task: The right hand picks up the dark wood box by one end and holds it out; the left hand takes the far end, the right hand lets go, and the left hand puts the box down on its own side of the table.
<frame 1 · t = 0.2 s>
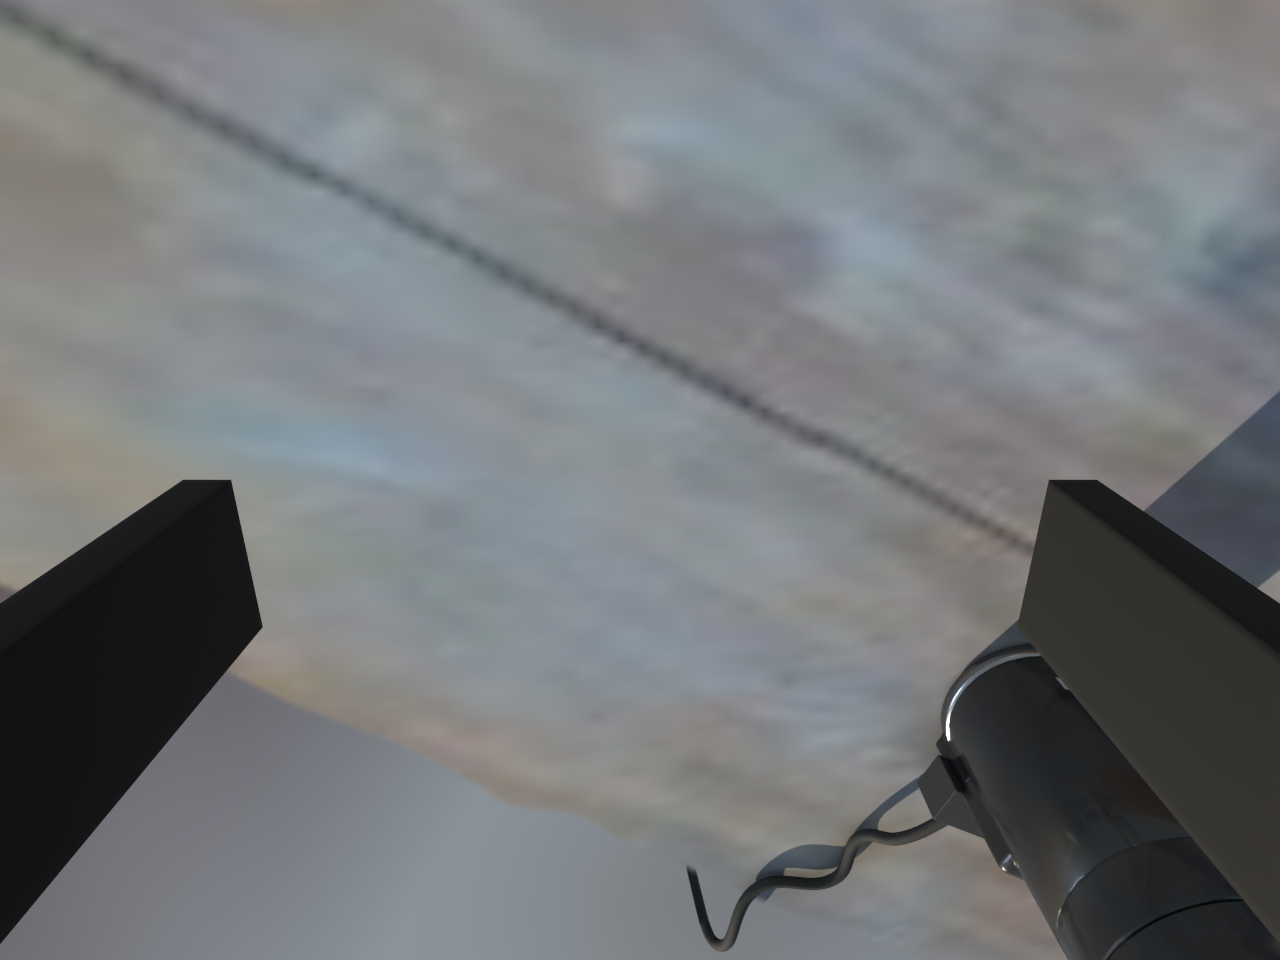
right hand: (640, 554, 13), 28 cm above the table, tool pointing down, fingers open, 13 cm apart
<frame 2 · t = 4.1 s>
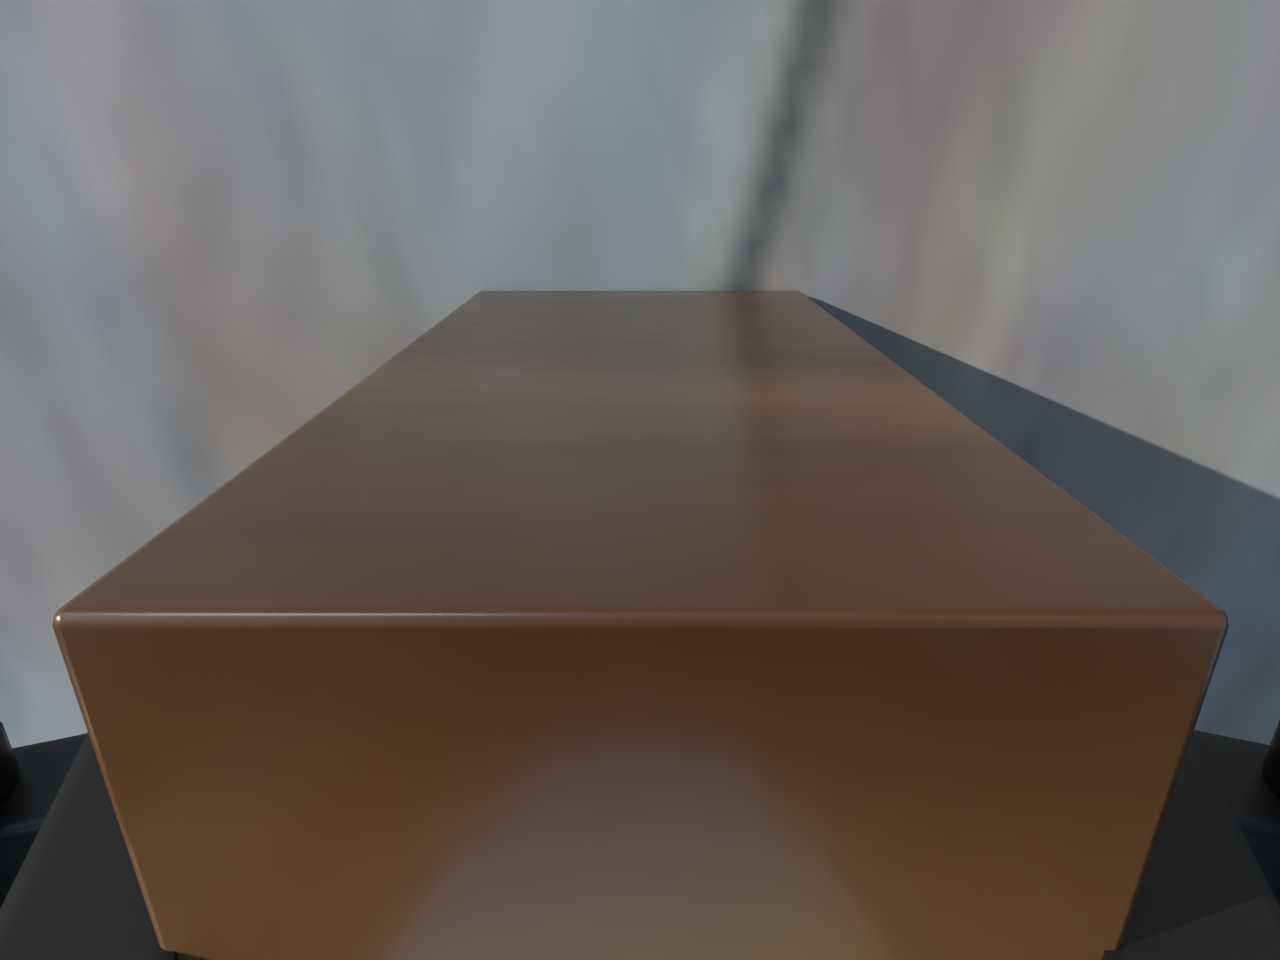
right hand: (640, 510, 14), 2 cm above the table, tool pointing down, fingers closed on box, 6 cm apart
box: (640, 828, 20), on the table, touching right hand
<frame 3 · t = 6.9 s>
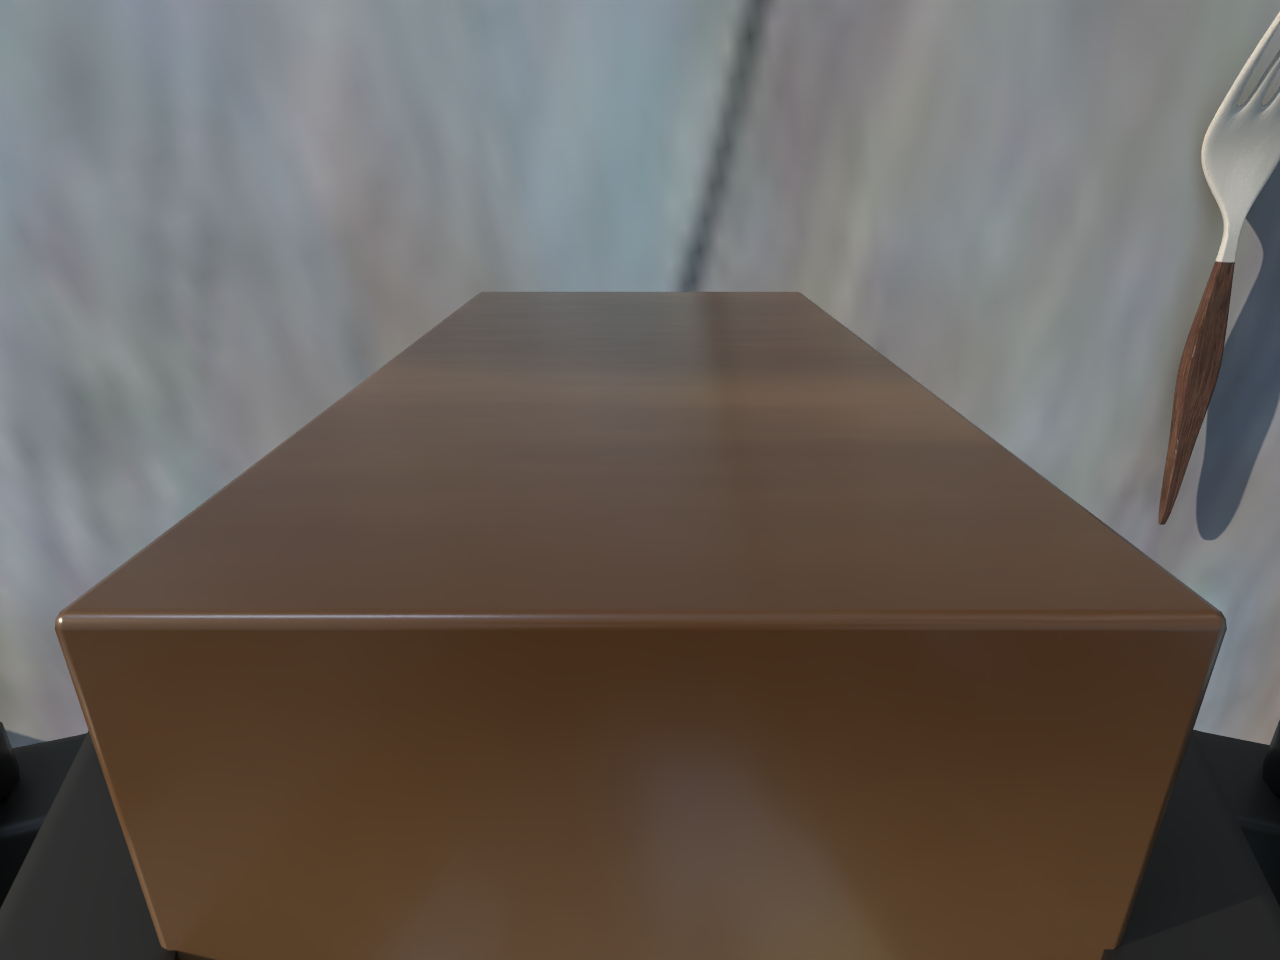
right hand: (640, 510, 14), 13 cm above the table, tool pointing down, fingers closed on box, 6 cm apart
box: (640, 828, 20), point 10 cm above the table, touching right hand
fork: (1201, 295, 25), on the table
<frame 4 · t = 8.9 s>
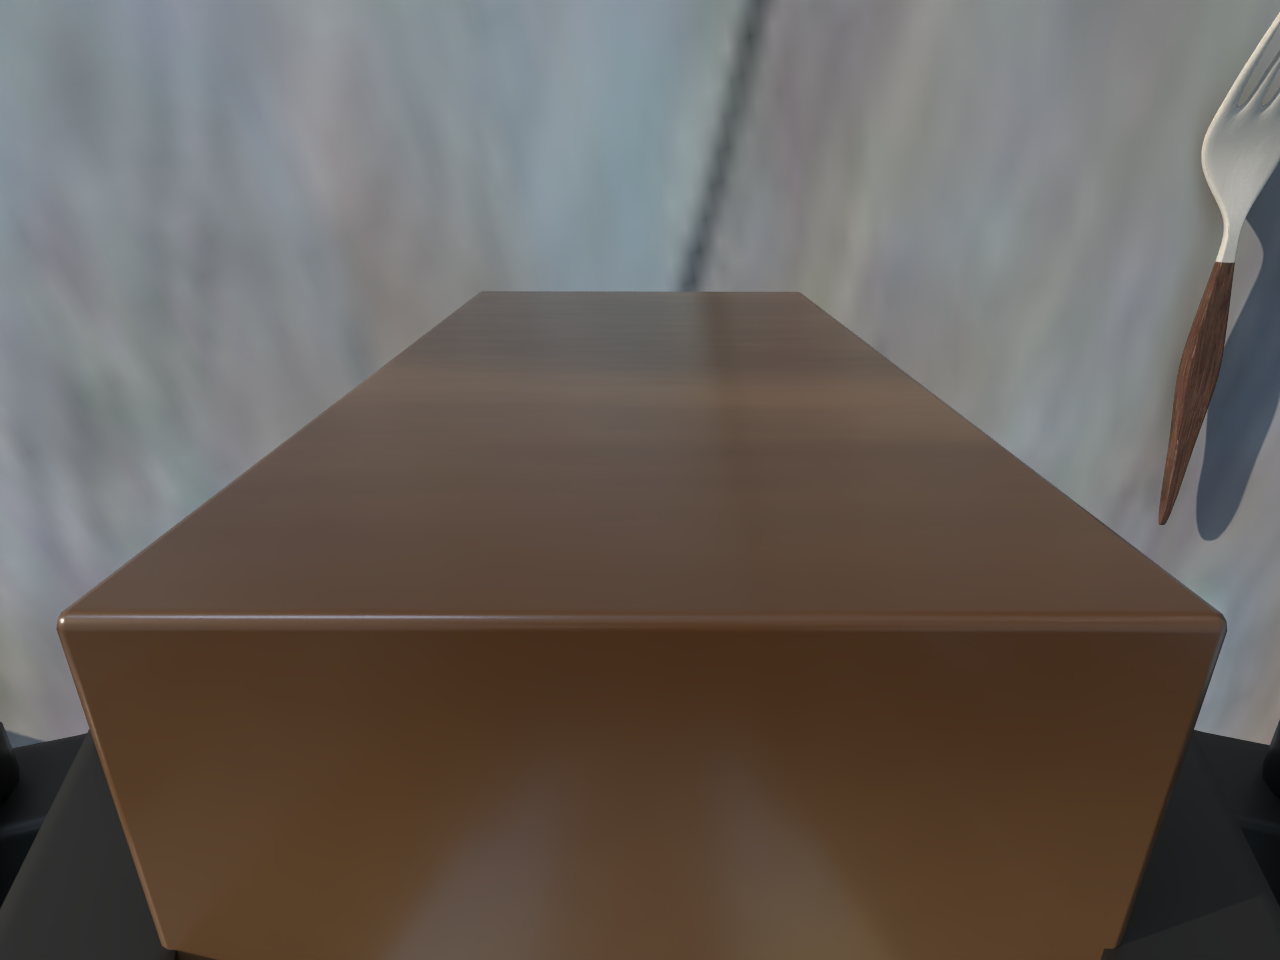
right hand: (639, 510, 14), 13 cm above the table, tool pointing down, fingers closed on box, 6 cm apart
box: (639, 828, 20), point 10 cm above the table, touching right hand, left hand
fork: (1201, 295, 25), on the table
when the right hand's fingers open (13 cm above the table, at t = 10.0 s): box stays where it is, held by the left hand.
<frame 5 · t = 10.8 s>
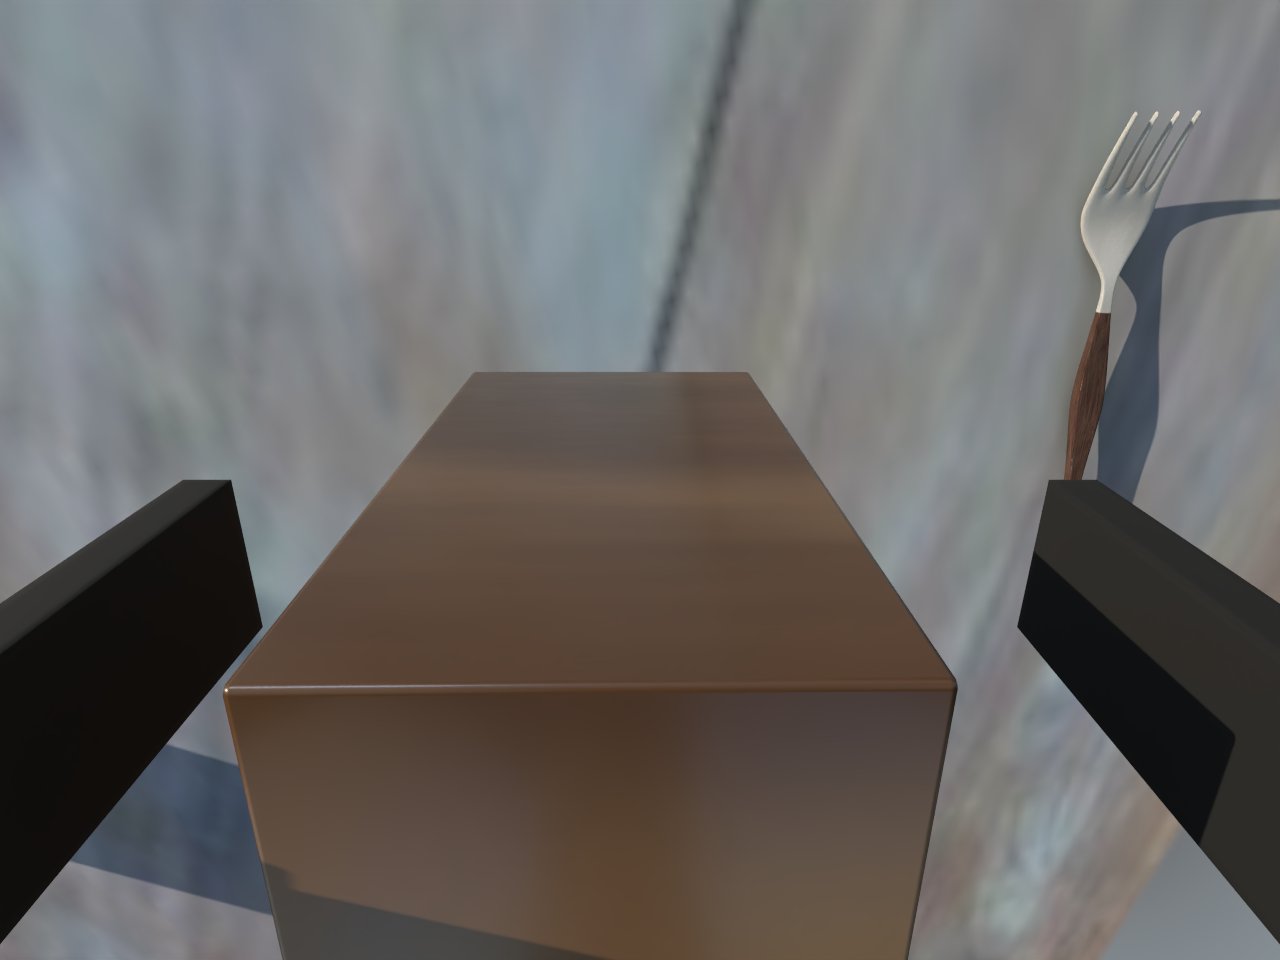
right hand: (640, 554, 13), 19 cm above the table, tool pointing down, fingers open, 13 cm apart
box: (615, 837, 22), point 13 cm above the table, touching left hand
fork: (1087, 338, 30), on the table
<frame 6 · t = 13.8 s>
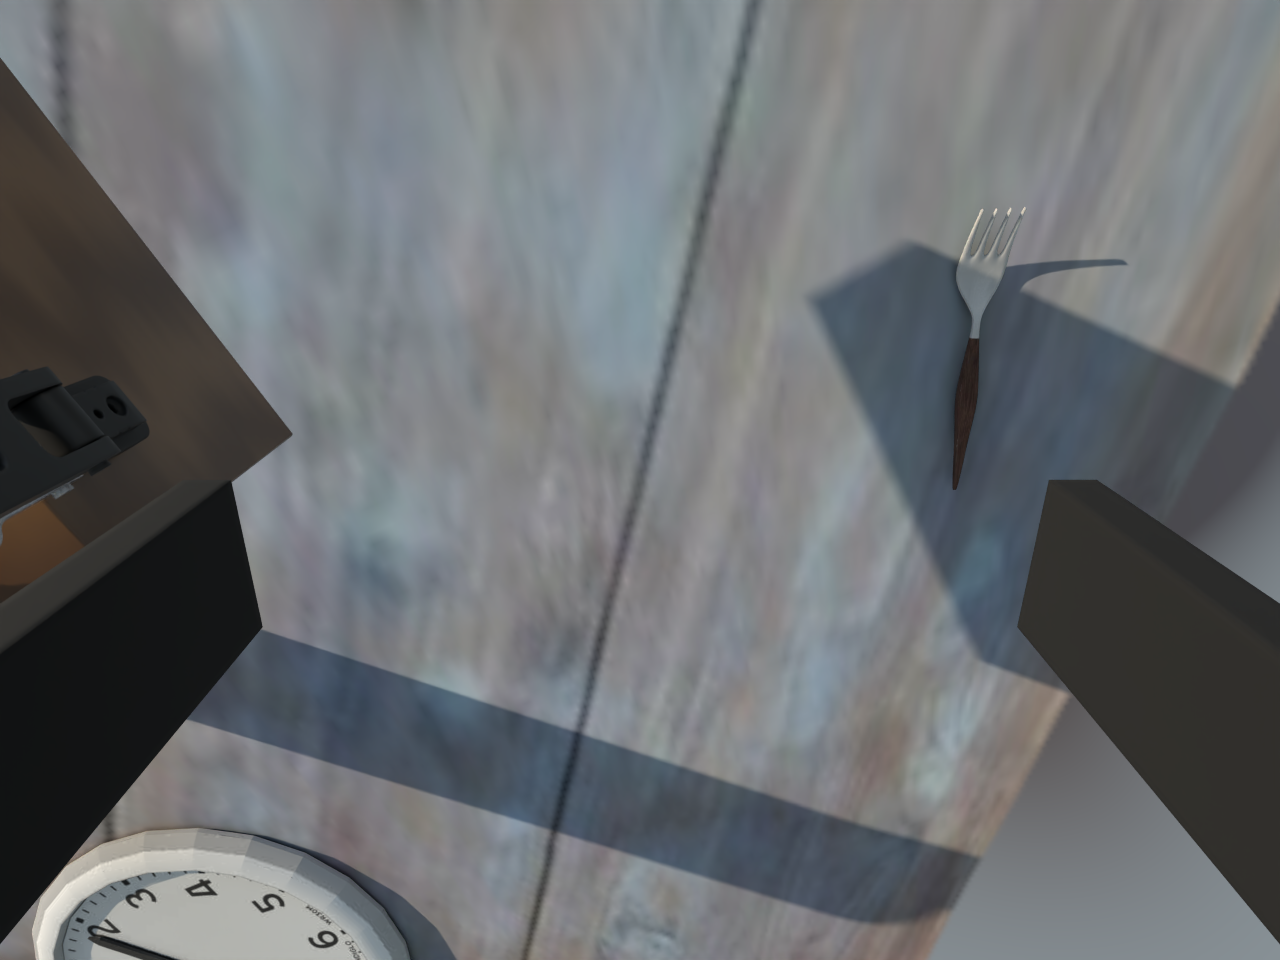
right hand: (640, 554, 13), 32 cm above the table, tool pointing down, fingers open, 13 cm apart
fork: (966, 355, 43), on the table
when the left hand's fingers open (9 cm above the table, at t = 18.8 s): box drops 2 cm, on the table.
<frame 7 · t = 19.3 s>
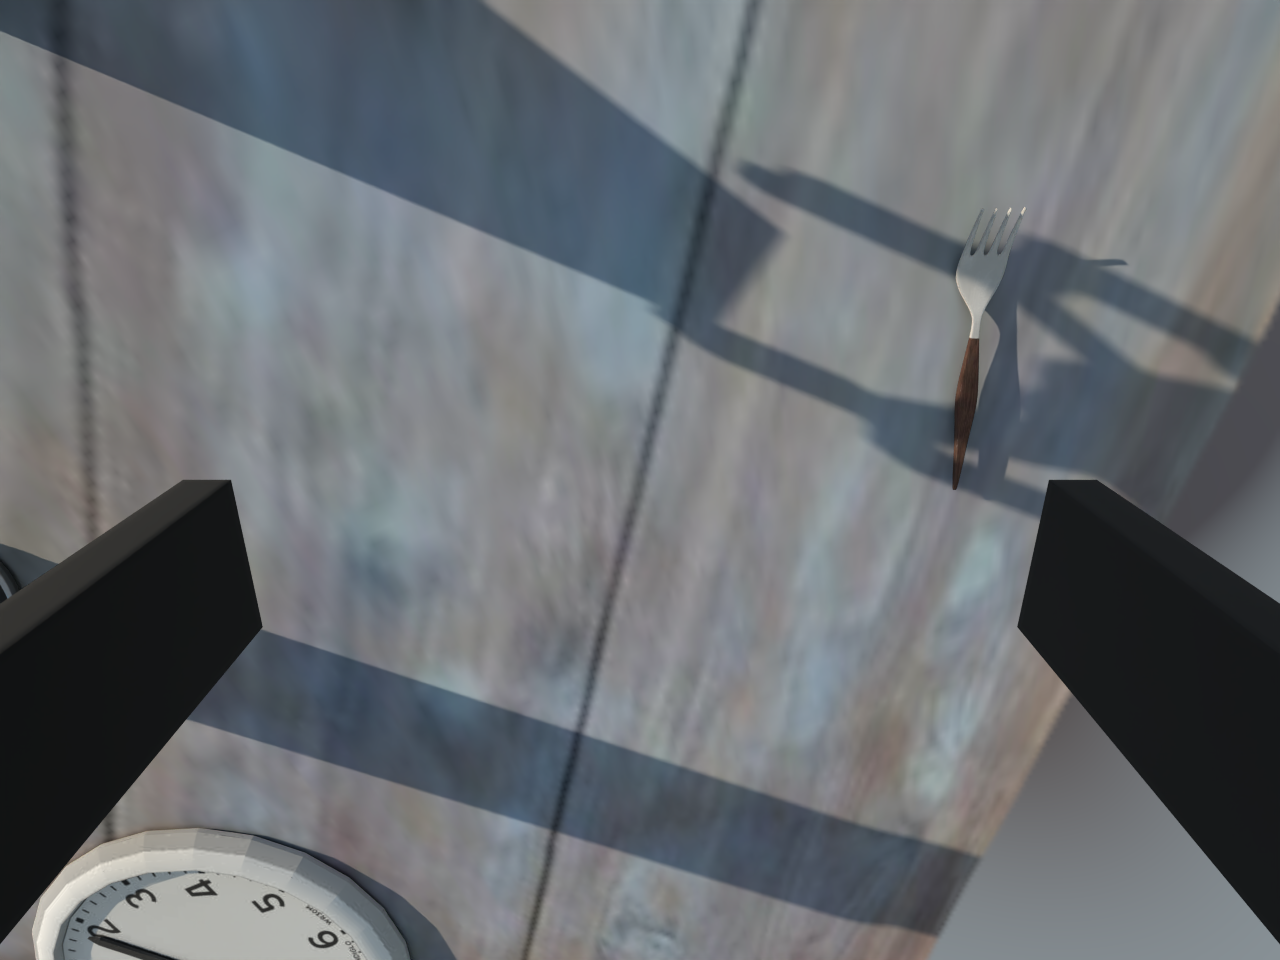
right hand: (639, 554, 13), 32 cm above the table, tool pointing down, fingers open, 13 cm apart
fork: (966, 355, 43), on the table
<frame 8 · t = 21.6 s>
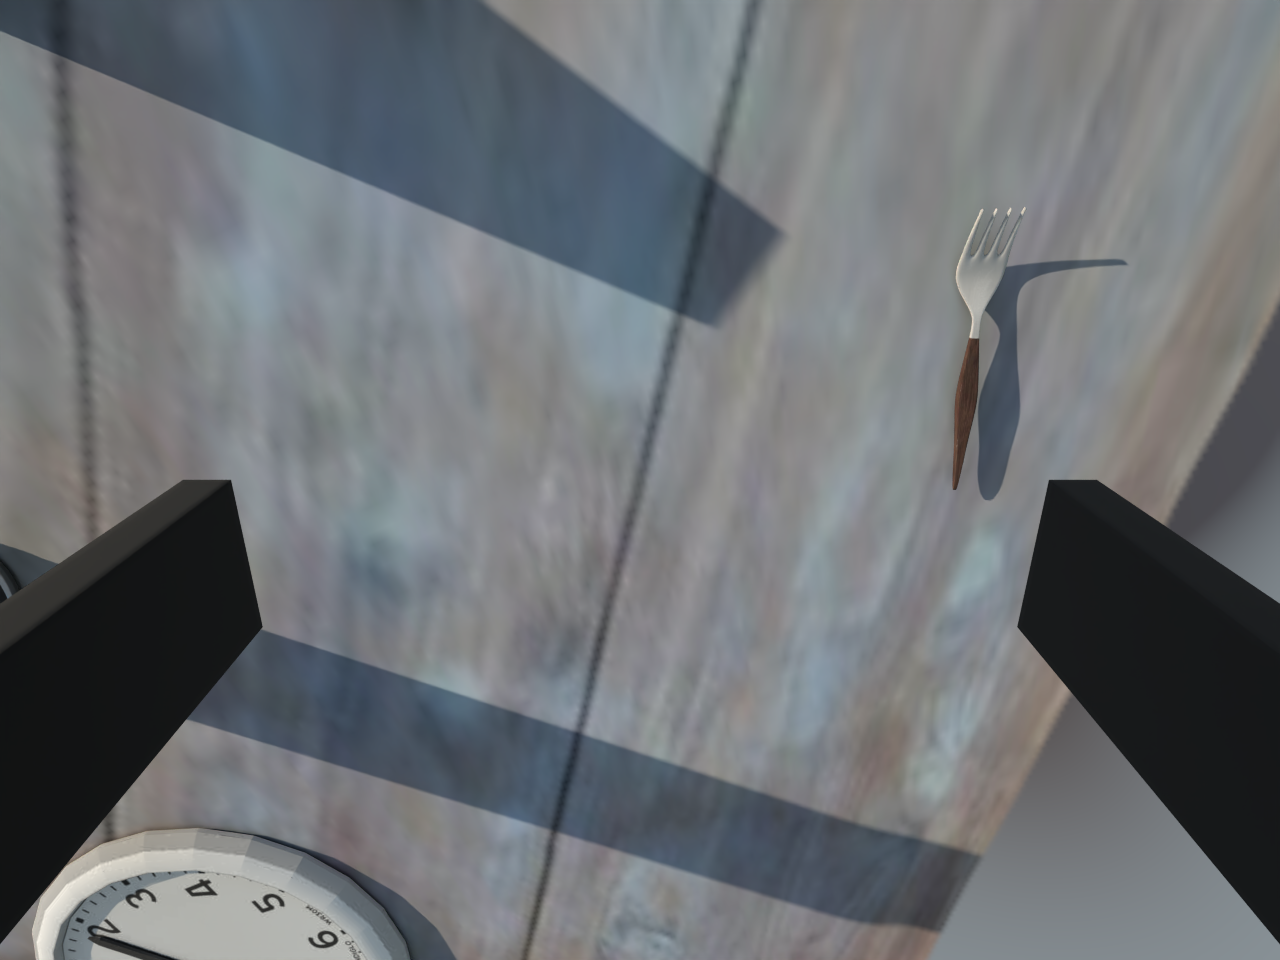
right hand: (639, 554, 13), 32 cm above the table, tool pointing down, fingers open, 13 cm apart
fork: (966, 355, 43), on the table
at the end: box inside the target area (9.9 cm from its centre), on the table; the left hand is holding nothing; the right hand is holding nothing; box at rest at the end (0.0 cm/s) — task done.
